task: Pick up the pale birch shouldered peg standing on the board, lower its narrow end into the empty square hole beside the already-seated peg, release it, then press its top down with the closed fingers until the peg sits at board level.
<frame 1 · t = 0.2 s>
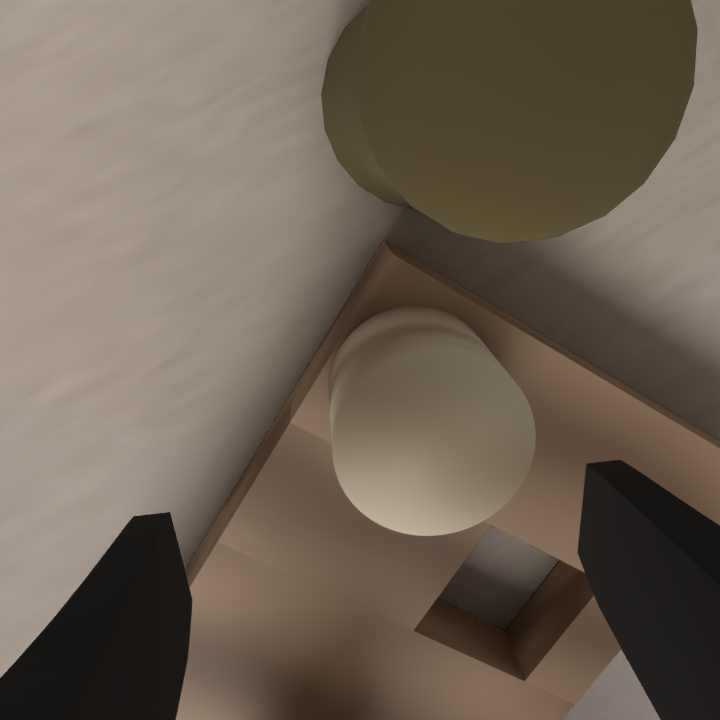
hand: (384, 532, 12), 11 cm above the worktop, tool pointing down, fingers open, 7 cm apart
olive pawn piece: (424, 102, 20), on the worktop
board: (403, 574, 25), on the worktop
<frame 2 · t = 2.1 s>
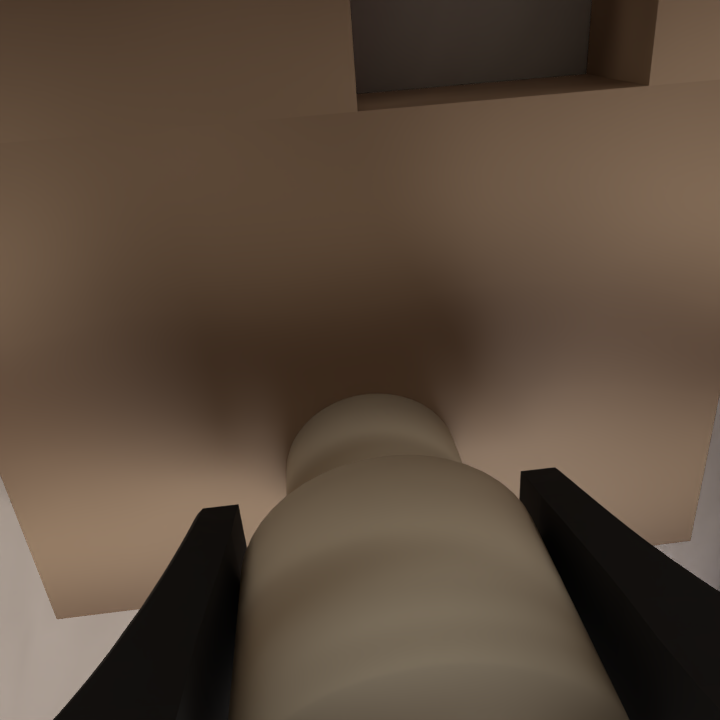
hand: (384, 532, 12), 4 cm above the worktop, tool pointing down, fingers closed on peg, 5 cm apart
peg: (372, 467, 13), point 2 cm above the worktop, touching board, gripper
board: (333, 78, 12), on the worktop
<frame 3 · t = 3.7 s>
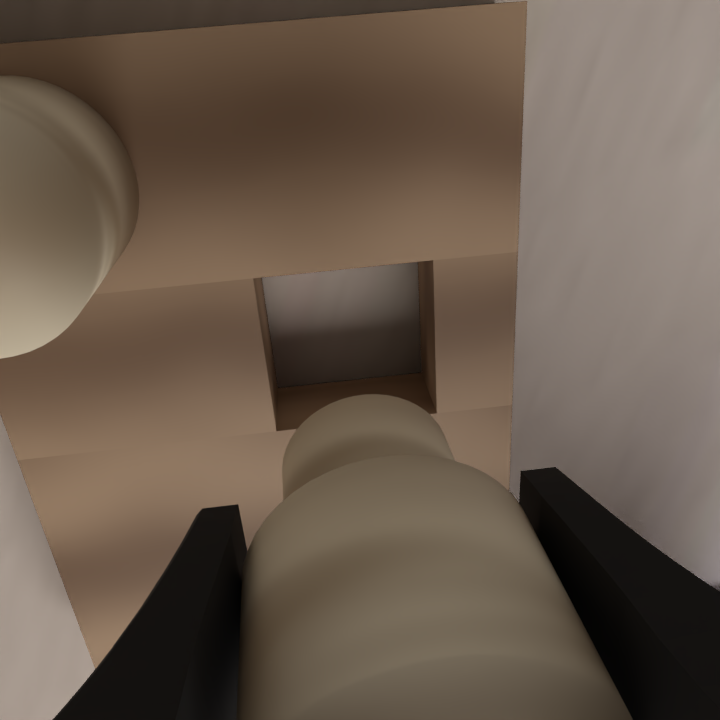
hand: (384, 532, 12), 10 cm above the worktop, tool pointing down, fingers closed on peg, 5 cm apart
peg: (366, 467, 14), point 8 cm above the worktop, touching gripper
board: (270, 380, 21), on the worktop
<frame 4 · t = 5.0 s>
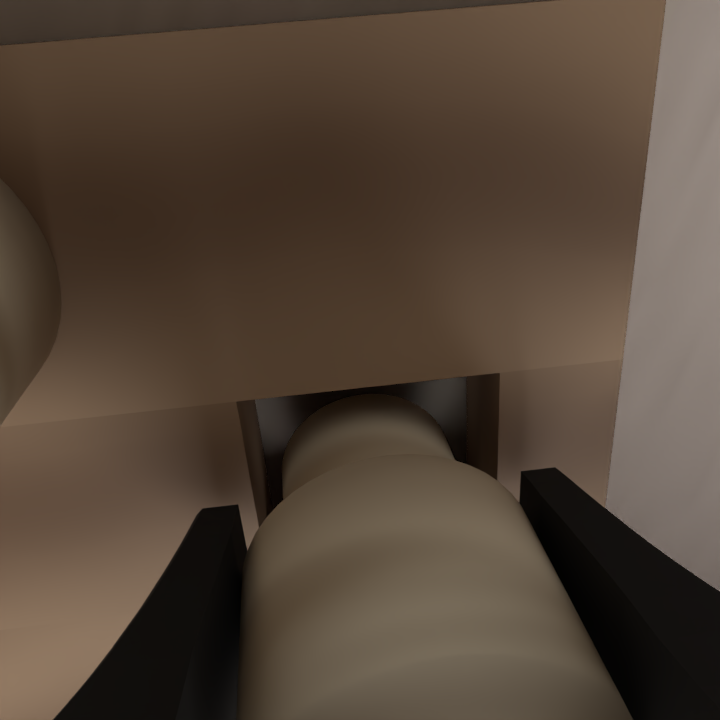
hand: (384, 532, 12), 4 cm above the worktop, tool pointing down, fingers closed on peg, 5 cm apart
peg: (366, 466, 14), point 2 cm above the worktop, touching gripper
board: (263, 506, 16), on the worktop
when the fingers open (3 cm above the worktop, at t = 5.6 s): peg drops 1 cm, resting in board.
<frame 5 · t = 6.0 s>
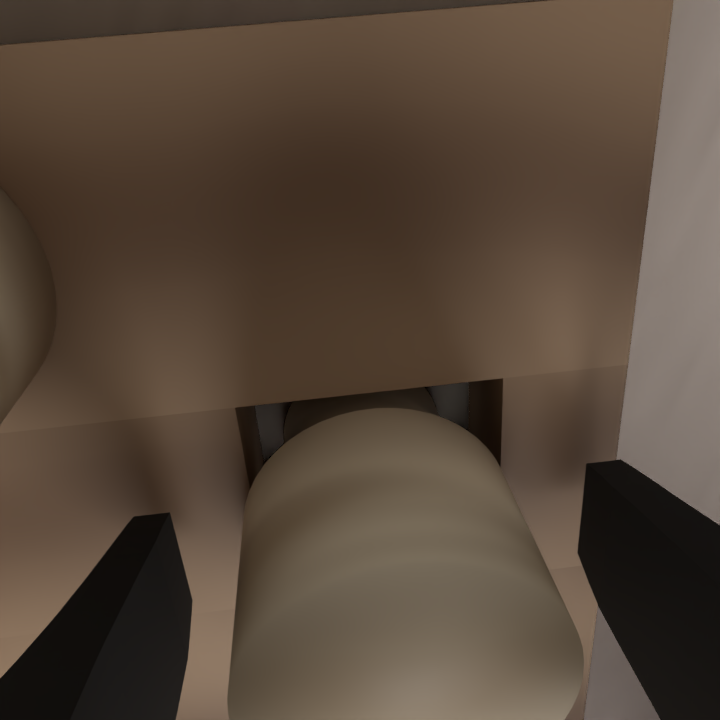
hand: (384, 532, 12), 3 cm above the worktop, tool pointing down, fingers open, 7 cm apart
peg: (361, 431, 15), resting in board
board: (263, 512, 16), on the worktop
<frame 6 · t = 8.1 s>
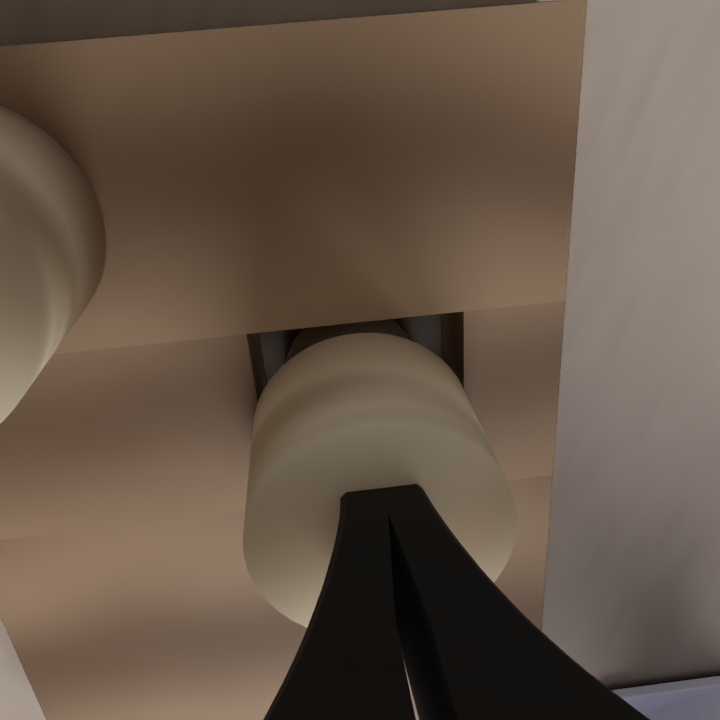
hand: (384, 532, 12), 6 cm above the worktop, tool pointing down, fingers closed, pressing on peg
peg: (351, 368, 17), resting in board, touching gripper
board: (267, 440, 18), on the worktop
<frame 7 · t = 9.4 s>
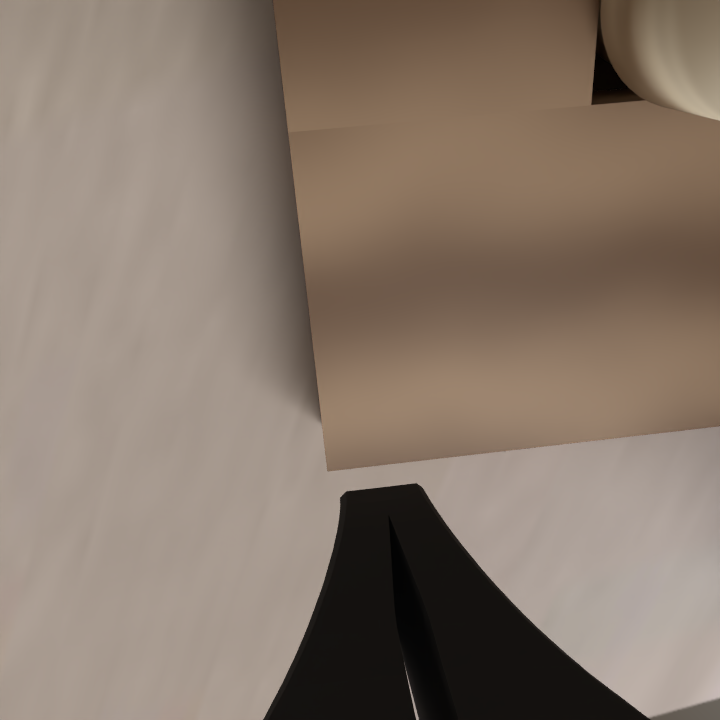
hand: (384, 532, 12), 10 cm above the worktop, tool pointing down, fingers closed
board: (547, 83, 18), on the worktop
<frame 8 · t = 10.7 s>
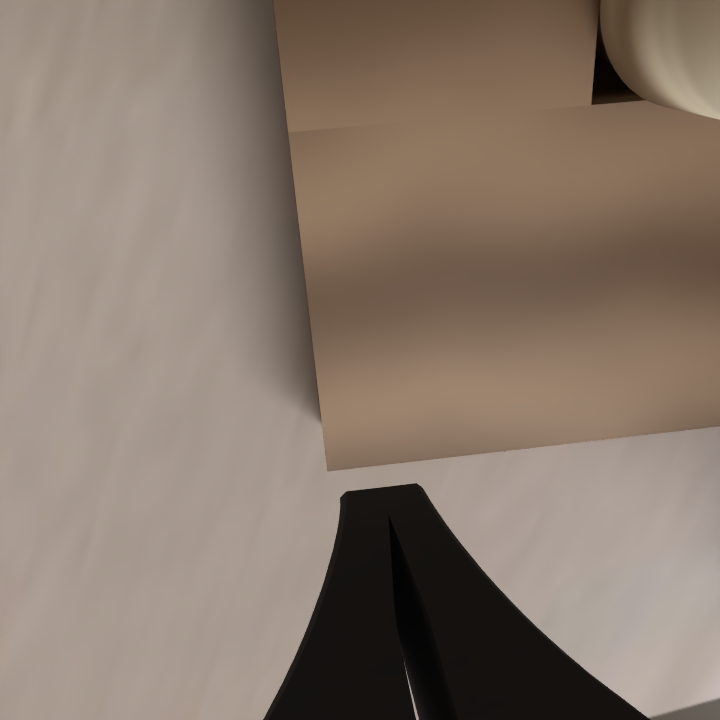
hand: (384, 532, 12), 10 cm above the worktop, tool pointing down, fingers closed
board: (547, 83, 18), on the worktop
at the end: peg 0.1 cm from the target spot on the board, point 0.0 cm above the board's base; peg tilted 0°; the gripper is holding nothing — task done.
